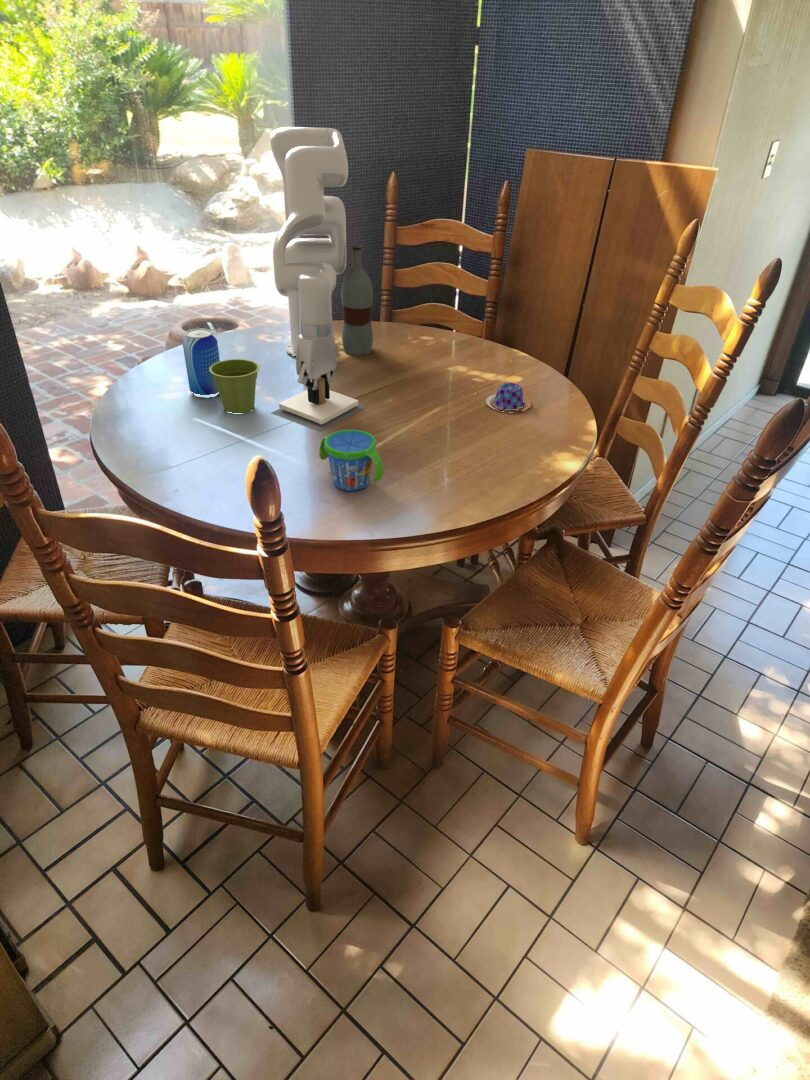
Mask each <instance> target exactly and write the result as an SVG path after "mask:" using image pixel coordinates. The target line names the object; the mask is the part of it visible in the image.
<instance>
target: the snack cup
mask: <svg viewBox="0 0 810 1080" xmlns="http://www.w3.org/2000/svg"><path fill="white" fill-rule="evenodd" d="M318 452H319V459H321V460H322V461H324V460H326V459H328V463H329V468H330V473H331V478H332V482H333V485H334V486H335V487H337V488H338V489H339V490H344V491H346V492H353V491H359V490H362V489H365V488H366V487H367V486H368V484H369V482H370V478H371V471H372V465H374V468H375V472H374V476H373V482H379V481H380V480H381V479H382V478H383V475H384V467H383V463H382V458H381V456H380V454H379V452H378V451H377V440H376V437H375V436H374V435H372V434H371V433H369V432H367V431H364V430H359V429H342V430H338V431H334V432H332V433H330V434H329V435H327V436H325V437H323V438H322V439H321V441H320V446H319V451H318Z"/></svg>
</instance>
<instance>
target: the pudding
mask: <svg viewBox="0 0 810 1080" xmlns="http://www.w3.org/2000/svg"><path fill="white" fill-rule="evenodd" d="M493 397H495V399H494V401H493V402H494V403H495V404H494V406H495V405H496V406H498V407H502V408H503V409H517V408H518V407H522V406H524V405H523V403H524V400H523V397H524V393H523V387H522V386H521V385H519V384H518V383H515V382H504V383H502V384H501V385H499V387H498V388H497V391H496V393H494V394H491V395H489V396H488V397H487V398H486V400H485V403H486V405H488V407H490V408H491V409H493V410H497V409H495V408H493V407H492V406H491V405H490V400H491V399H492V398H493ZM497 411H499V410H497ZM499 412H500V411H499ZM501 412H504V411H501ZM504 413H505V412H504ZM509 413H511V414H512V413H513V412H509ZM513 414H514V413H513Z"/></svg>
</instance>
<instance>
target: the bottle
mask: <svg viewBox="0 0 810 1080" xmlns="http://www.w3.org/2000/svg"><path fill="white" fill-rule="evenodd" d="M351 247H352V248H351V249H352V251H351V253H352V259H351V260H352V261H351V263H352V264H351V267H350V269H348V272H347V273H346V276H345V277H344V278H343V281H342V284H341V291H340V298H341V305H342V315H343V316H342V317H343V318H342V319H343V324H342V330H341V331H342V332H341V333H342V335H341V342H342V348H343V351H344V353H346V355H349V356H358V357H361V356H366V355H369V354H370V353H371V351H372V347H373V341H374V335H373V326H372V315H373V313H372V312H373V301H374V290H373V289H374V287H373V283H372V281H371V278H370V277H369V275H368V274H367V272H366V270H365V269H364V267H363V266H362V265H363V262H362V261H363V260H362V259H363V258H362V257H363V255H362V245H361V244H352V246H351Z"/></svg>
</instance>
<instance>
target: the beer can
mask: <svg viewBox="0 0 810 1080" xmlns="http://www.w3.org/2000/svg"><path fill="white" fill-rule="evenodd" d="M218 344H219V343H218V340H217V338H216V337H215V335H214V334H213V331H212V330H211V329H209V328H203V327H202V328H201V327H200V328H192V329H188V330H187V331H185V333H184V338H183V340H182V347H183V354H184V362H185V368H186V374H187V379H188V387H189V391H190V392H191V393H192V392H193V393H195V394H200V395H210V394H216V393H218V392H219V391H218V387H217V384H216V382H215V380H214V377H213V374H212V373H211V372H210V371H209V368H210V366H211V365H213V364H214V363H217V362H219V361H221V360H220V351H219V345H218ZM193 393H192V394H193Z"/></svg>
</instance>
